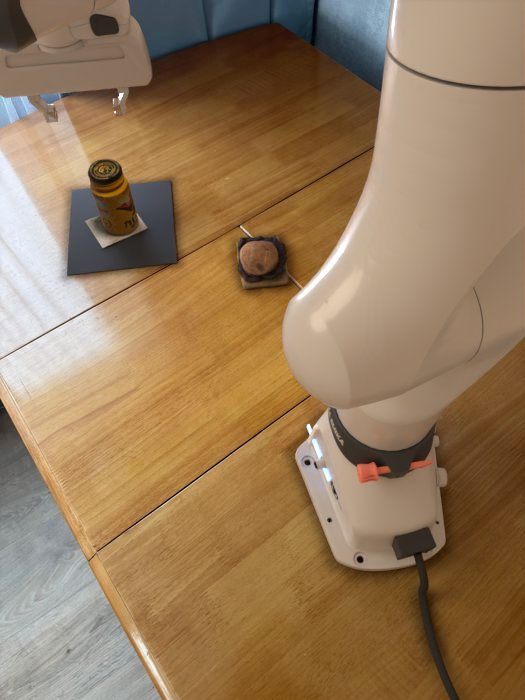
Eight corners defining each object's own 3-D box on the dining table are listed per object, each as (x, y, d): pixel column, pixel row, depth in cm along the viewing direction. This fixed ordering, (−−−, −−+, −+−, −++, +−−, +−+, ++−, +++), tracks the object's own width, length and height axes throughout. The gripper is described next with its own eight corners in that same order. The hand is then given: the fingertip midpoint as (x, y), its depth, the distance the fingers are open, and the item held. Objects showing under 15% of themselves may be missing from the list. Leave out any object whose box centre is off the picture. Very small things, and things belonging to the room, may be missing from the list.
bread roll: (291, 286, 86) (292, 271, 82) (239, 290, 85) (239, 276, 82) (282, 237, 91) (283, 221, 88) (233, 241, 90) (233, 225, 87)
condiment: (147, 228, 92) (133, 173, 81) (102, 248, 89) (82, 194, 79) (129, 203, 95) (113, 147, 85) (85, 222, 92) (63, 166, 82)
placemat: (177, 263, 88) (176, 262, 88) (67, 275, 87) (66, 274, 86) (170, 180, 98) (170, 180, 98) (72, 190, 97) (71, 189, 97)
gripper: (-42, 32, 60) (8, 138, 72) (139, 18, 61) (160, 123, 73) (-34, 4, 63) (13, 109, 75) (138, -9, 64) (158, 96, 76)
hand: (87, 116), depth 74 cm, fingers open, 8 cm apart
